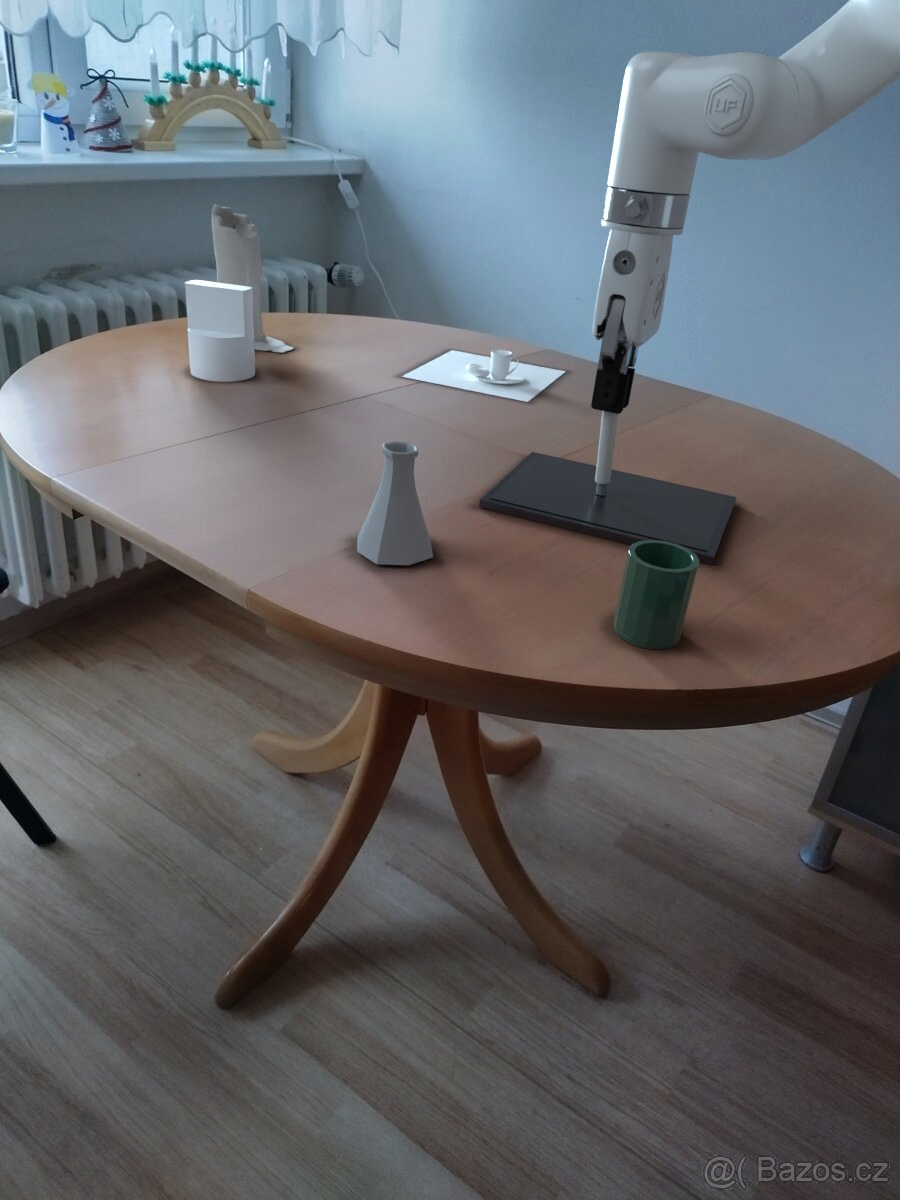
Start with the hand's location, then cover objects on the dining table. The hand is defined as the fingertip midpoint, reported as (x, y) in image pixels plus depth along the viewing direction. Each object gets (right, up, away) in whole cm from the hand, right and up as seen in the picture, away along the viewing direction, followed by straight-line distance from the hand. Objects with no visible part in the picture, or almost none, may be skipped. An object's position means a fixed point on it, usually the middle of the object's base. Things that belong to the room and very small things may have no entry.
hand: (609, 406), depth 88 cm
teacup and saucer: (-11, +15, +46) cm, 50 cm away
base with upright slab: (-49, +13, +36) cm, 62 cm away
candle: (-48, +22, +51) cm, 73 cm away
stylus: (0, -8, +4) cm, 9 cm away
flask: (-21, -15, -9) cm, 28 cm away
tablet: (+1, -10, +5) cm, 11 cm away
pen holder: (0, -22, -18) cm, 28 cm away
